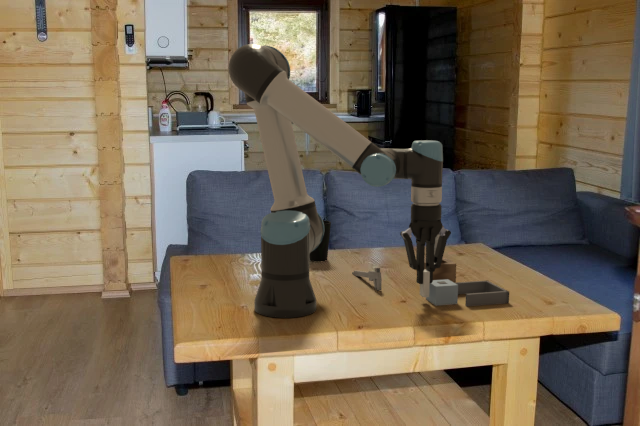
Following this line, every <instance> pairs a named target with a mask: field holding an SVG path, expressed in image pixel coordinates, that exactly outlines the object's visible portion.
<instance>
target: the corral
mask: <svg viewBox="0 0 640 426" xmlns="http://www.w3.org/2000/svg"><path fill="white" fill-rule="evenodd" d="M455 284H457V285H458V295H465V307H474V306H475V307H476V306H489V305H500V304H502V305H503V304H504V305H505V304H509V303H510V291H509V290H508V289H505V288H504V287H501V286H500V285H498V284H495V283H493V282H491V281H489V280H488V279H487V280H475V281H474V280H473V281H461V282H460V281H459V282H457V281H456V283H455Z"/></svg>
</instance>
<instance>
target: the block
mask: <svg viewBox="0 0 640 426" xmlns="http://www.w3.org/2000/svg"><path fill="white" fill-rule="evenodd" d="M458 297H459V294H458V285H457V284H455V283H454V282H452V281H450V280H448V279H445V280H433V282H432V283H430V285H429V297H425V300H426V301H428V302H430V303H431V304H432V305H434V306H446V305H458V299H459V298H458Z"/></svg>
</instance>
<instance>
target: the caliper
mask: <svg viewBox="0 0 640 426" xmlns="http://www.w3.org/2000/svg"><path fill="white" fill-rule="evenodd" d="M352 274H353V275H354V276H355V277H362V278H368V282H373V287H374V290H375V291H379V292H380V291H382V272H381V268H380V267H374V270H368V271H363V270H357V269H355V270H353V271H352Z"/></svg>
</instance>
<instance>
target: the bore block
mask: <svg viewBox="0 0 640 426" xmlns="http://www.w3.org/2000/svg"><path fill="white" fill-rule="evenodd" d="M424 269H426V257H425V258H424ZM445 279H448V280H450V281H452V282H454V283H457V281H456V280H457V262H454V261H452V260H450V259H448V258H446V257H444V256H443V259H442V263H441V266H440V268H436V269H435V271H434V272H433V280H445Z"/></svg>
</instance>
